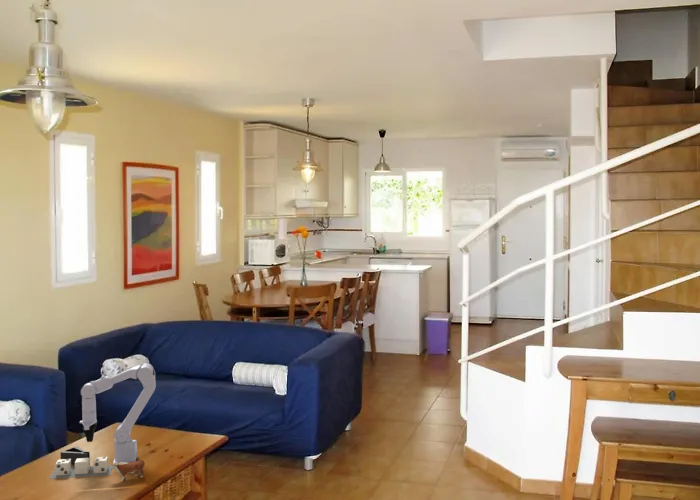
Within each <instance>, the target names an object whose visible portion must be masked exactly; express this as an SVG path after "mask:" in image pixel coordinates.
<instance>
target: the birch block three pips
mask: <svg viewBox="0 0 700 500" xmlns="http://www.w3.org/2000/svg"><path fill="white" fill-rule="evenodd" d="M71 468H72V465H71V459H61V458H60V459H57V461H56V463H55V469H56V475H69V473H70V472H71Z"/></svg>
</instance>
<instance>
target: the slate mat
mask: <svg viewBox="0 0 700 500" xmlns="http://www.w3.org/2000/svg"><path fill="white" fill-rule="evenodd" d="M112 465H113V464H108V469H107V472H103V473H94V465H91V466H90V470H89V472H88V474H75V466H74V467H71V472H70V473H69V475H56V468H55V469H54V470H53V472H52V473H51V475H50V476H49V478H48V480H56V479H69V478H70V479H72V478H85V477H86V478H87V477H88V478H89V477H101V476H102V477H103V476H110V475H111V473H112V470H113V469H111V466H112Z"/></svg>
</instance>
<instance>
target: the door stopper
mask: <svg viewBox="0 0 700 500" xmlns="http://www.w3.org/2000/svg"><path fill="white" fill-rule="evenodd" d="M90 454H91V453H90V451H87V450H84V449H82V448H80V446H77V445H75V446H73V447H70V448H68V449H66V450H63V451H60V459H71V466H75V461H76V459H77V458H89V463H90V464H91V455H90Z"/></svg>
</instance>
